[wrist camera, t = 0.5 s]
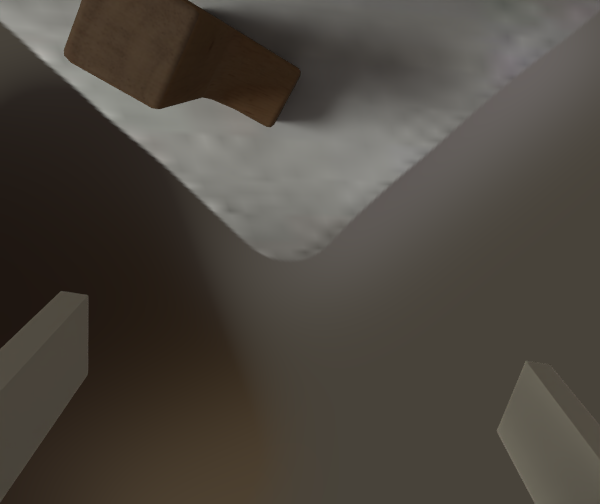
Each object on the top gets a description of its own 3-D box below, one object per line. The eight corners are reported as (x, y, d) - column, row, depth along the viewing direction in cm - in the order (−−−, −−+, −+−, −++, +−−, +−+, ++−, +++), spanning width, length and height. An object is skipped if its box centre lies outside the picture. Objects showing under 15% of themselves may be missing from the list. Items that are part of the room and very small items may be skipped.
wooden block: (302, 70, 36) (302, 71, 19) (274, 123, 38) (252, 166, 21) (196, 5, 35) (96, -55, 18) (171, 63, 36) (56, 56, 19)
